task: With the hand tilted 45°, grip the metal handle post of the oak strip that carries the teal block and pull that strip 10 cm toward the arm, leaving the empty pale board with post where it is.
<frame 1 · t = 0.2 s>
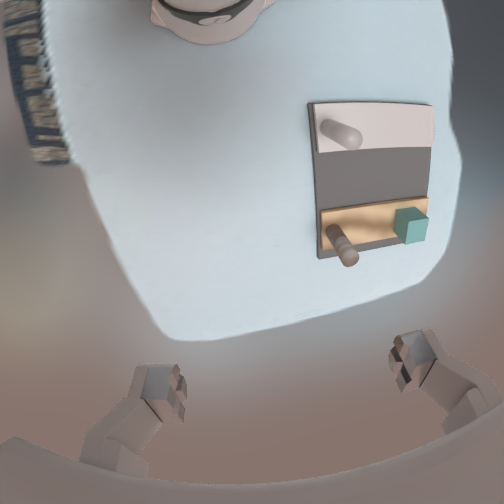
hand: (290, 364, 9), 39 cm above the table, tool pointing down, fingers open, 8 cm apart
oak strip: (389, 233, 46), point 6 cm above the table, slide at 0.0 cm, touching teal block
lane mat: (376, 180, 47), on the table
pale board with post: (395, 130, 35), point 6 cm above the table, slide at 0.0 cm
teal block: (404, 218, 49), point 2 cm above the table, touching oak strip
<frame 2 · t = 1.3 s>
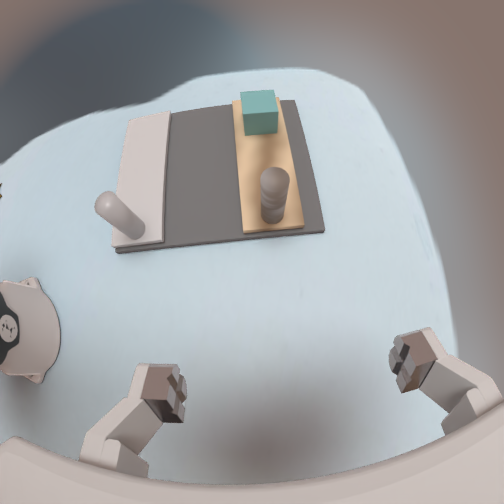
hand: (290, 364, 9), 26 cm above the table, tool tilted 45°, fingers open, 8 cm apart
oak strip: (263, 135, 35), point 6 cm above the table, slide at 0.0 cm, touching teal block
lane mat: (212, 166, 41), on the table
pale board with post: (130, 155, 35), point 6 cm above the table, slide at 0.0 cm
teal block: (259, 122, 40), point 2 cm above the table, touching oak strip
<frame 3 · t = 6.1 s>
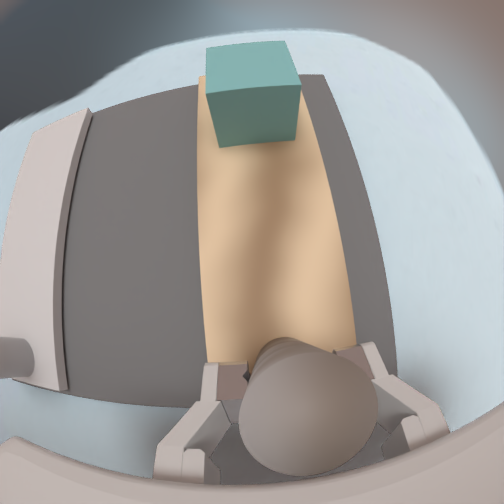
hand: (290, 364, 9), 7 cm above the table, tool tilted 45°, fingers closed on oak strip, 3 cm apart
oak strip: (262, 149, 12), point 6 cm above the table, slide at 0.0 cm, touching gripper, teal block
lane mat: (150, 220, 19), on the table
teal block: (253, 116, 18), point 2 cm above the table, touching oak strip
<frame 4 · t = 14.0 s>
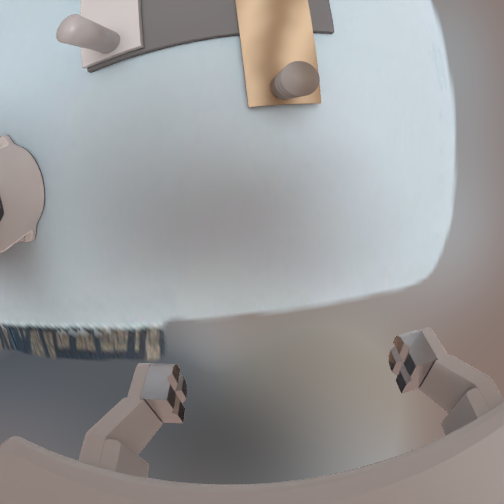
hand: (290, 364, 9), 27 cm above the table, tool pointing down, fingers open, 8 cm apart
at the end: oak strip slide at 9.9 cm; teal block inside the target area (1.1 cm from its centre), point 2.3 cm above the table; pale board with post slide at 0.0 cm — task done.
